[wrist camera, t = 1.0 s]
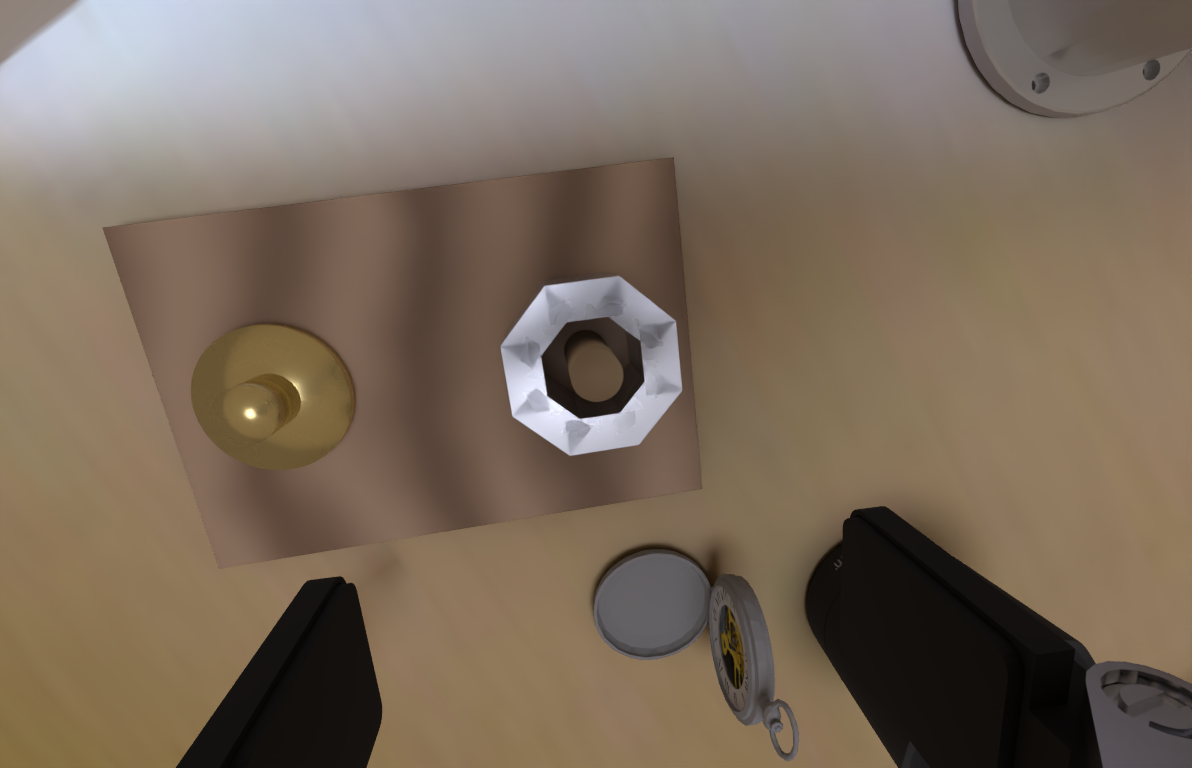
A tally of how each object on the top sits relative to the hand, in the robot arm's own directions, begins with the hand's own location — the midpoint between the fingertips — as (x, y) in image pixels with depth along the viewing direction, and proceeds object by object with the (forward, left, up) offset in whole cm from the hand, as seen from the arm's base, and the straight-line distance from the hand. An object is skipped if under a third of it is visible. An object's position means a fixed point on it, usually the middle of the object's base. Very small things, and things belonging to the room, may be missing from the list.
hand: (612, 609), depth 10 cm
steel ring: (-1, -2, -16) cm, 17 cm away
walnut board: (+6, -2, -18) cm, 19 cm away
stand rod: (-1, -2, -16) cm, 17 cm away
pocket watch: (-4, +13, -18) cm, 23 cm away
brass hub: (+13, -2, -16) cm, 21 cm away
